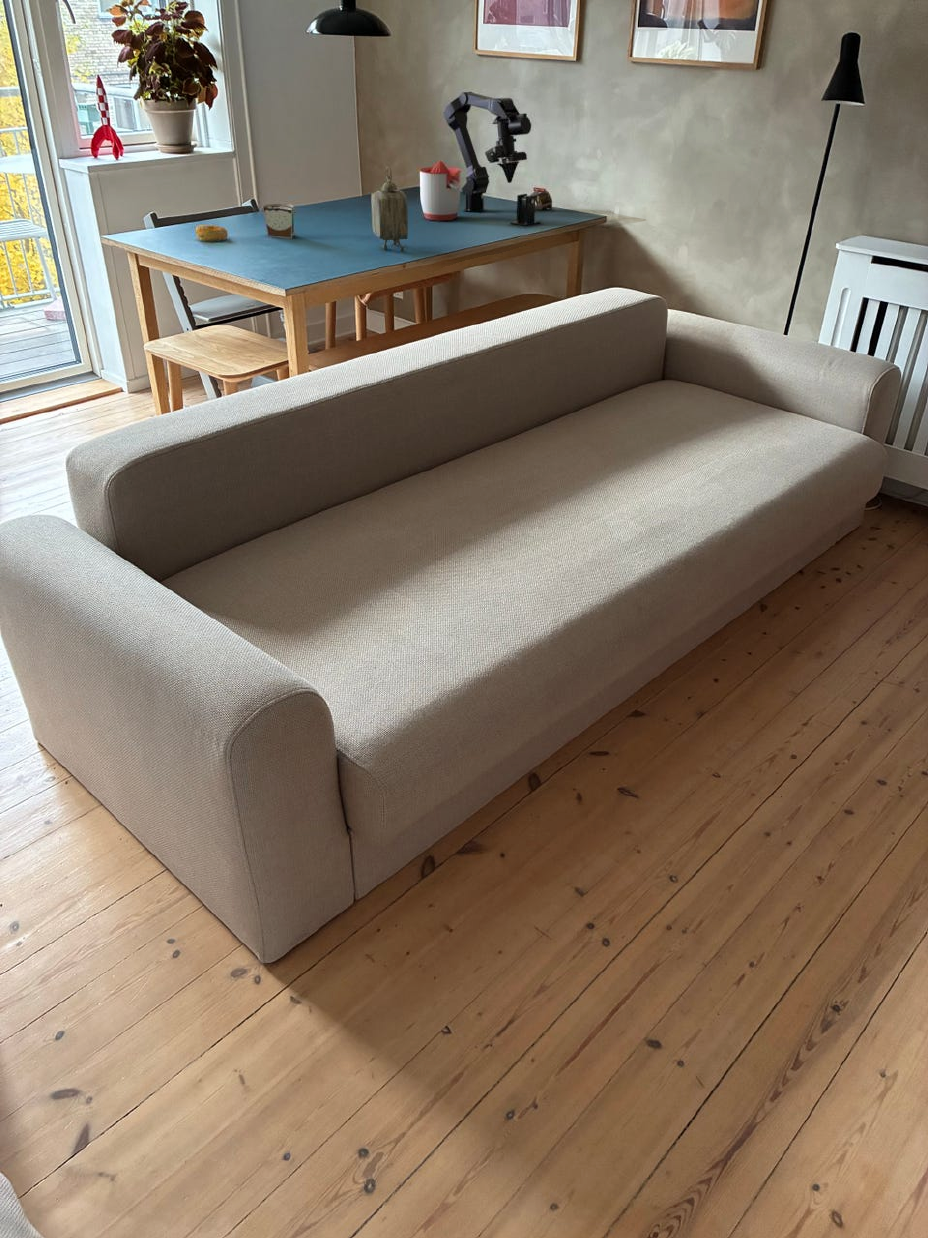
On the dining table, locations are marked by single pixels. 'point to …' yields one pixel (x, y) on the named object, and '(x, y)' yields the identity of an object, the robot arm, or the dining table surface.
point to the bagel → (211, 233)
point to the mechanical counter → (543, 201)
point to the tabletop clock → (390, 213)
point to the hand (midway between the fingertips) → (509, 182)
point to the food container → (279, 220)
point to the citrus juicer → (440, 192)
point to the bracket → (525, 211)
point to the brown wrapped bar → (537, 190)
